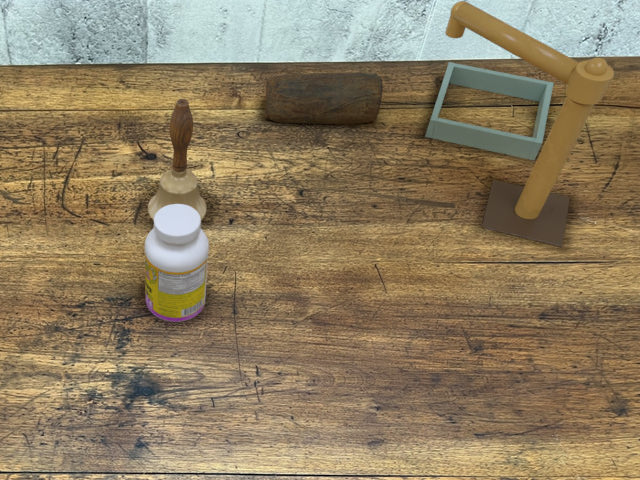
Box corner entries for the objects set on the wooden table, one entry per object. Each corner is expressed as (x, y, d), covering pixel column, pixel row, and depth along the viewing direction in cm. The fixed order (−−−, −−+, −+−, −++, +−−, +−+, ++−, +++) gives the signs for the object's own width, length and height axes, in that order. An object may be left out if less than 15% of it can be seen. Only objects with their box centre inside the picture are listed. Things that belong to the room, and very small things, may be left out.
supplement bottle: (151, 279, 94) (151, 192, 83) (208, 287, 93) (215, 200, 83) (140, 323, 90) (138, 237, 80) (199, 331, 89) (205, 246, 79)
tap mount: (566, 204, 99) (631, 81, 86) (558, 253, 95) (626, 132, 81) (489, 186, 102) (541, 64, 88) (478, 234, 97) (531, 112, 83)
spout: (604, 106, 85) (627, 61, 81) (582, 119, 84) (604, 74, 80) (457, 24, 95) (471, -21, 90) (435, 34, 94) (449, -10, 89)
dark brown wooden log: (368, 102, 112) (379, 57, 107) (377, 134, 108) (389, 89, 103) (259, 104, 113) (264, 60, 107) (264, 136, 109) (270, 92, 103)
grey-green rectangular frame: (543, 105, 111) (553, 82, 108) (531, 166, 104) (542, 143, 101) (441, 85, 114) (449, 61, 111) (422, 142, 107) (430, 119, 104)
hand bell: (218, 198, 102) (227, 84, 89) (201, 243, 97) (208, 130, 84) (154, 186, 103) (154, 73, 90) (134, 230, 99) (131, 117, 86)
